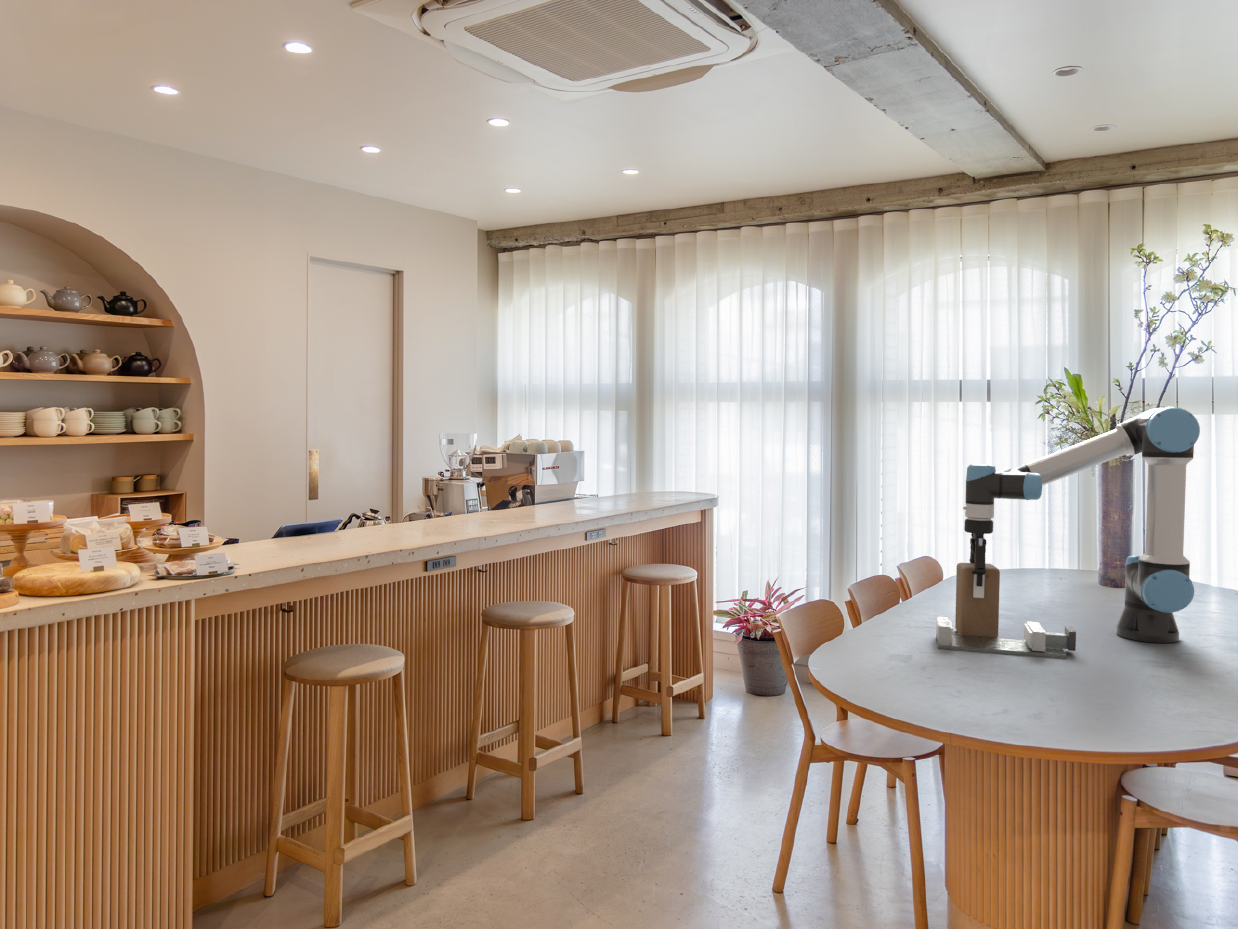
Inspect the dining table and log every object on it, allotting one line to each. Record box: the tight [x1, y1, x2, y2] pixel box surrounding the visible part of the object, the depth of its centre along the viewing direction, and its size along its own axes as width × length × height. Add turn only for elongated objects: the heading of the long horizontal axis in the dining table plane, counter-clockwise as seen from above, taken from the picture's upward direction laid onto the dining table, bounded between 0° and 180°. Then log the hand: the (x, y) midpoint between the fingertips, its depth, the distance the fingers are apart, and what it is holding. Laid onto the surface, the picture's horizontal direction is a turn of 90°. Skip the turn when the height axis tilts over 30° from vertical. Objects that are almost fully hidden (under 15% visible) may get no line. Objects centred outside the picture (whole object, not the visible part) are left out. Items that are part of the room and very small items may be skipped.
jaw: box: [1023, 621, 1077, 652], centre depth 230 cm, size 11×12×5 cm
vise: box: [935, 616, 1068, 660], centre depth 234 cm, size 31×13×6 cm, turn 72°
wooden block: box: [954, 562, 1001, 638], centre depth 247 cm, size 10×10×20 cm
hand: (976, 593), depth 247 cm, fingers open, 13 cm apart
